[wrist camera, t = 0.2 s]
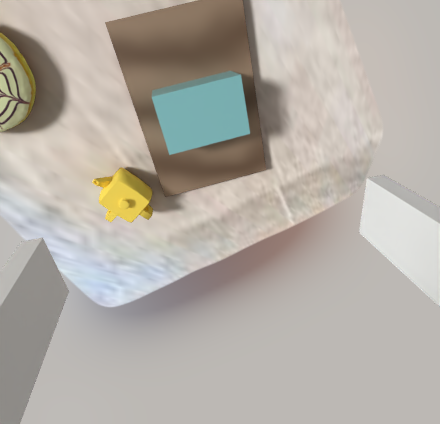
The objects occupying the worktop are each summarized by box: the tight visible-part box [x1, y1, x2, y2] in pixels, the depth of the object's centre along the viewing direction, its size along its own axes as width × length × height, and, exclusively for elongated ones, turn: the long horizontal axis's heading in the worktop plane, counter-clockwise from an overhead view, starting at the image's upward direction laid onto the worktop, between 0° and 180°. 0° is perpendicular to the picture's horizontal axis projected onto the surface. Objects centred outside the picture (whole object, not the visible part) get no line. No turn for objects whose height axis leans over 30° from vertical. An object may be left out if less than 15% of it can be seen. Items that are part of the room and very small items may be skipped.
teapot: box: [92, 168, 153, 222], centre depth 37 cm, size 8×6×5 cm
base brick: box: [152, 71, 250, 155], centre depth 33 cm, size 6×9×5 cm, turn 102°
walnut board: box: [105, 0, 266, 197], centre depth 36 cm, size 20×14×1 cm
